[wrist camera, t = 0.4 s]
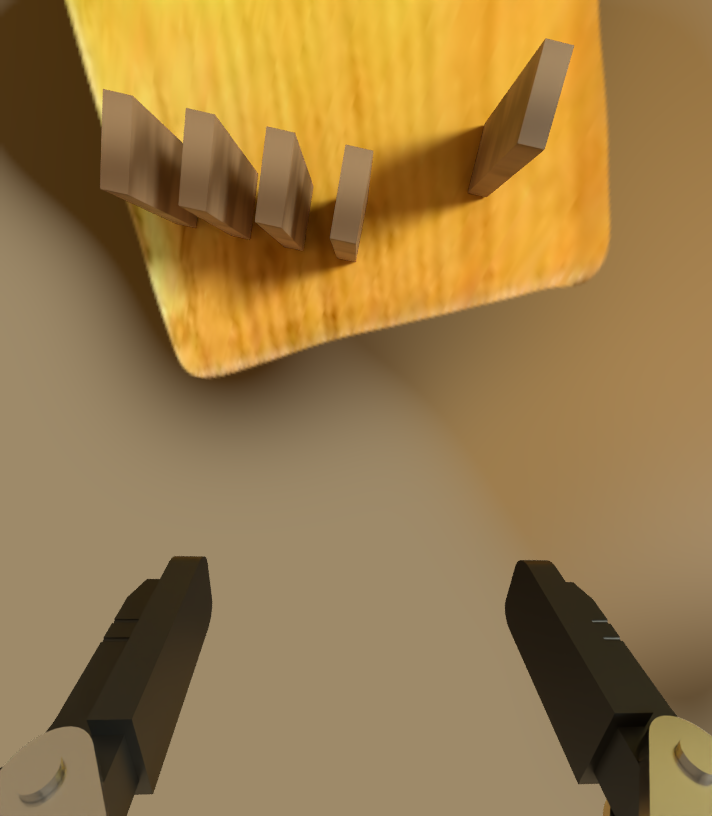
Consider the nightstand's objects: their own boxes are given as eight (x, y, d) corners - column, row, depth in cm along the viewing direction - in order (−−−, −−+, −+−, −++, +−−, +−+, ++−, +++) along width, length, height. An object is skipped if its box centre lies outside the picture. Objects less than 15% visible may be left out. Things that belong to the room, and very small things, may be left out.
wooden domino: (238, 169, 31) (185, 107, 21) (258, 173, 31) (214, 114, 22) (231, 235, 32) (178, 205, 23) (250, 239, 32) (205, 211, 23)
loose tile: (484, 123, 30) (545, 38, 21) (504, 128, 30) (574, 45, 21) (467, 192, 32) (517, 143, 22) (486, 197, 32) (544, 149, 22)
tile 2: (348, 194, 32) (345, 144, 22) (367, 198, 32) (373, 150, 22) (337, 258, 33) (329, 238, 23) (355, 262, 33) (356, 243, 23)
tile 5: (181, 156, 31) (103, 89, 21) (202, 161, 31) (132, 95, 21) (176, 223, 32) (99, 188, 22) (196, 228, 32) (128, 194, 23)
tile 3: (293, 181, 31) (266, 126, 22) (313, 186, 31) (294, 132, 22) (284, 246, 33) (254, 221, 23) (303, 250, 33) (281, 227, 23)
